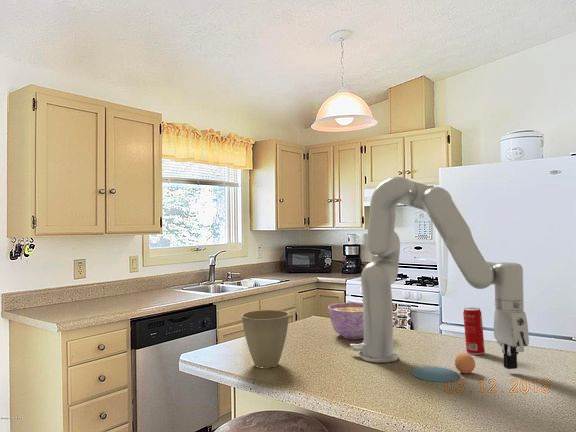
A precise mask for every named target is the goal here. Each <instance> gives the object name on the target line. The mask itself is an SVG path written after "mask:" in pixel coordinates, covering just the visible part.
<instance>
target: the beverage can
mask: <svg viewBox="0 0 576 432" xmlns="http://www.w3.org/2000/svg"><path fill="white" fill-rule="evenodd" d="M462 315H463V326H464V337H465V348H466V349H465V350H466V354H468V355H472V356H473V355H474V356H475V355H477V356H478V355H479V356H481V355H484V354H485V352H486V349H485V339H484V327H483V318H482V317H483V315H482V311H481V308H479V307H465V308H463V314H462Z"/></svg>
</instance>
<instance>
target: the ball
mask: <svg viewBox="0 0 576 432" xmlns="http://www.w3.org/2000/svg"><path fill="white" fill-rule="evenodd" d="M454 367H455V368H456V370H457V371H459V372H460V373H462V374H465V375H466V374H470V373H472V372H473V371H474V370H475V368H476V361H475V358H473V357H472V356H471V354H469V353H460V354H458V355H457V356H456V357H455V359H454Z"/></svg>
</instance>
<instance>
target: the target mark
mask: <svg viewBox="0 0 576 432" xmlns="http://www.w3.org/2000/svg"><path fill="white" fill-rule="evenodd" d="M411 372H412V375H413V376H414V377H416V378H417V379H421V380H424V381H428V382H435V383H448V382H455V381H458V379H459V378H460V374H459V373H458V372H456V371H455V370H452V369H449V368H445V367H439V366H420V367H417V368H414V369H413V370H412V371H411Z"/></svg>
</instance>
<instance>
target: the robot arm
mask: <svg viewBox="0 0 576 432" xmlns="http://www.w3.org/2000/svg"><path fill="white" fill-rule="evenodd" d="M399 204H400V205H404V206H408V207H411V208H415V209H419V210H420V211H421V210H422V211H424V212H426V214H427V215H428V217H429V218H430V220H431V223H433V225H434V227H435V229H436V230H437V232H438V234H439V235H440V237H441V238H442V240H443V243H444V245H445V247H446V249H448V252H449V253H450V255H451V257H452V259H453V261H454V263H455V264H456V265H457V267H458V269H459V271H460V272H461V274H462V276H463V277H464V279H465V281H466V282H467V284H469V286H471V287H472V288H474V289H479V290H483V289H484V290H485V289H486V288H489V287H490V286H491V285H492V286H493V285H494V316H493V337H494V339H495V340H496V343H497V344H498V345H499V346H500V347H501V352H502V354H503V368H504V369H506V370H515V369H517V368H518V356H519V353H524V352H525V347H528V346H529V344H530V341H529V340H530V339H529V338H530V337H529V334H530V333H529V325H528V318H527V315H526V312H525V309H524V306H525V305H524V270H523V266H522V264H520V263H519V262H518V263H516V262H490V261H486V259H485V258H484V256H483V254H482V252H481V251H480V249H479V247H478V246H477V244H476V242H475V240H474V238H473V235H472V232H471V228H470V227H469V225H468V223H467V222H466V220H465V219H464V217H463V216H462V214H461V212H460V211H459V209H458V207H457V206H456V204H455V203H454V201H453V198H452V195H451V194H450V192H449V191H448V190H447V189H445V188H444V187H439V186H431V185H427V184H424V183H420V182H417V181H414V180H410V179H408V178H406V177H403V176H393V177H389V178H388V179H385V180H384V181H382V182H381V183H379V184H378V185H377V186H376V188H375V189H374V191H373V192H372V195H371V198H370V204H369V214H368V215H369V216H368V225H367V235H366V244H365V245H366V248H367V251H368V253H369V254H370V255H371V262H369V263H367V264H366V265H365V266H364V267H363V269H362V271H361V276H360V284H361V291H362V303H363V329H364V338H363V340H362V343H361V342H360V343H358V344H357V343H350V344H349V349H350V350H353V352H359V353H358V356H359V358H360V359H361V360H363V361H366V362H371V363H377V364H378V363H379V364H381V363H392V362H395V361H397V360H398V359H399V354H398V353H397V352H396V351H394V317H393V315H394V313H393V312H394V311H393V294H392V285H393V284H394V283H395V282H396V280H397V278H398V274H399V266H400V265H399V263H400V255H401V254H400V253H401V252H400V251H401V241H400V240H401V239H400V237H399V234H397V232H396V231H395V226H396V225H395V224H396V209H397V206H398V205H399Z"/></svg>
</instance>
